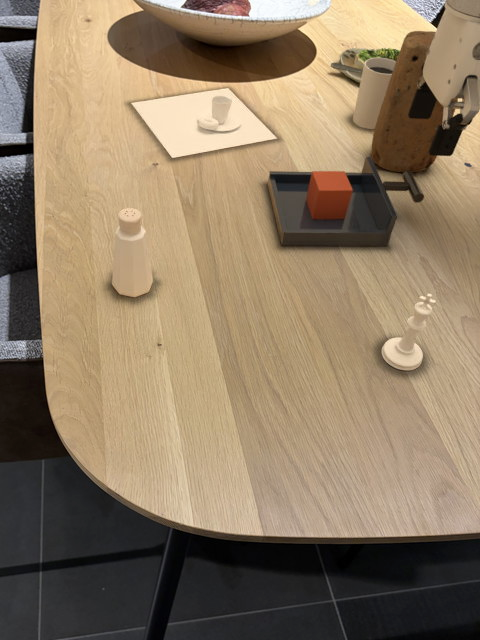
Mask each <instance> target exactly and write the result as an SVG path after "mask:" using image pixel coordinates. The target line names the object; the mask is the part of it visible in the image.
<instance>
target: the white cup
mask: <svg viewBox="0 0 480 640" xmlns="http://www.w3.org/2000/svg"><path fill="white" fill-rule="evenodd" d="M395 63H396V61H394V60H390V59H387V58H371V59H368V60H366V61H365V63H364V68H363V73H362V78H361V82H360V83H359V88H358V92H357V98H356V102H355V107H354V110H353V116H352V122H353V123H354V124H355V125H356V126H358V127H360V128H362V129H366V130H375V126H376V122H377V119H378V116H379V113H380V109H381V106H382V103H383V100H384V97H385V94H386V90H387V87H388V84H389V81H390V78H391V75H392V72H393V69H394V66H395Z"/></svg>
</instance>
